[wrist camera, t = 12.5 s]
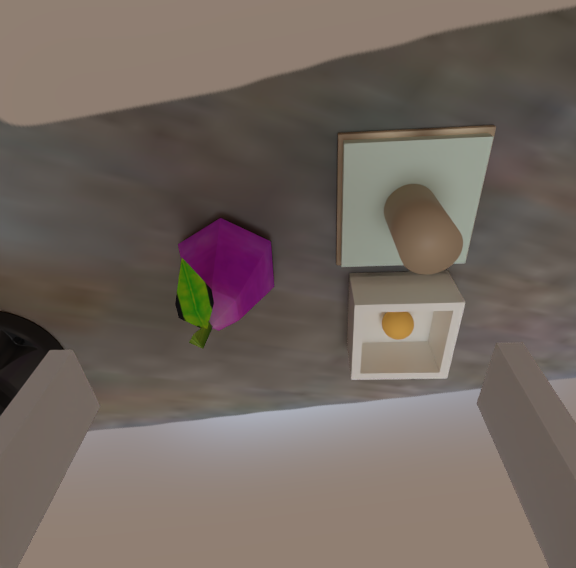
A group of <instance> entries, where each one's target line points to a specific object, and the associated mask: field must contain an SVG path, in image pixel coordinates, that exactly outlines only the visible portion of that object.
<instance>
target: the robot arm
mask: <svg viewBox="0 0 576 568" xmlns="http://www.w3.org/2000/svg"><path fill="white" fill-rule="evenodd" d="M477 405H478V407H479V410H480V412H481V414H482V416H483V419H484V421H485V423H486V425H487V428H488V430H489V432H490V435H491V437H492V439H493V441H494V443H495V446H496V448H497V450H498V453H499V455H500V457H501V459H502V462H503V464H504V466H505V468H506V471H507V473H508V475H509V478H510V480H511V482H512V484H513V487H514V489H515V491H516V494H517V496H518V498H519V500H520V503H521V505H522V507H523V509H524V512H525V514H526V516H527V519H528V520H529V523H530V525H531V528H532V530H533V532H534V534H535V537H536V539H537V541H538V543H539V546H540V548H541V550H542V552H543V555H544V557H545V559H546V561H547V564H548V566H549V568H576V423H575V421H574V420H573V418H572V416H571V415H570V414H569V412H568V411H567V409H566V407H565V406H564V404H563V403H562V401H561V400H560V398H559V397H558V395H557V394H556V392H555V391H554V389H553V388H552V386H551V385H550V383H549V382H548V380H547V379H546V377H545V376H544V374H543V373H542V371H541V370H540V368H539V366H538V365H537V363H536V362H535V360H534V359H533V357H532V356H531V354H530V353H529V351H528V350H527V348H526V347H525V345H524V344H523V343H496V346H495V349H494V352H493V355H492V358H491V361H490V364H489V367H488V370H487V373H486V376H485V379H484V382H483V386H482V389H481V392H480V395H479V398H478V401H477ZM99 408H100V405H99V403H98V400H97V398H96V396H95V394H94V392H93V390H92V388H91V386H90V384H89V382H88V380H87V378H86V376H85V374H84V372H83V369H82V367H81V365H80V363H79V361H78V359H77V357H76V355H75V353H74V351H73V350H63V349H62V347H61V346H60V345H59V343H58V342H57V341H56V340H55V339H54V338H53V337H52V336H51V335H50V334H48V333H47V332H46V331H45V330H43V329H42V328H40V327H39V326H37V325H35V324H33V323H32V322H30V321H28V320H25V319H23V318H21V317H18V316H15V315H12V314H8V313H4V312H0V568H17V567H18V565H19V563H20V561H21V559H22V558H23V556H24V554H25V552H26V550H27V548H28V546H29V544H30V542H31V540H32V538H33V536H34V534H35V532H36V530H37V528H38V526H39V524H40V523H41V521H42V519H43V517H44V515H45V513H46V511H47V509H48V507H49V505H50V503H51V501H52V499H53V497H54V495H55V493H56V491H57V489H58V488H59V486H60V484H61V482H62V480H63V478H64V476H65V474H66V472H67V470H68V468H69V466H70V464H71V462H72V460H73V458H74V457H75V454H76V452H77V451H78V449H79V447H80V445H81V443H82V441H83V439H84V437H85V435H86V433H87V431H88V429H89V427H90V425H91V423H92V422H93V420H94V418H95V416H96V414H97V412H98V410H99Z"/></svg>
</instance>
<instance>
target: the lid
mask: <svg viewBox="0 0 576 568" xmlns="http://www.w3.org/2000/svg"><path fill="white" fill-rule="evenodd" d="M493 137H494V136H492V135H491V134H489V133H480V134H459V135H439V136H418V137H398V138H377V139H357V140H343V173H342V221H341V267H358V266H392V265H404V266H405V267H406V268H407V269H409V270H410V271H412V272H414V273H417V274H423V275H428V274H435V273H438V272H441V271H443V270H445V269H447V268H448V267H450V266H451V265H452V264H459V263H465V261H466V257H467V252H468V248H469V243H470V239H471V235H472V230H473V226H474V221H475V217H476V212H477V208H478V204H479V199H480V195H481V190H482V186H483V181H484V177H485V173H486V168H487V164H488V159H489V155H490V150H491V146H492V141H493Z"/></svg>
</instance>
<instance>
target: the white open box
mask: <svg viewBox="0 0 576 568" xmlns="http://www.w3.org/2000/svg"><path fill="white" fill-rule="evenodd" d="M464 306H465V301H464V299H463V297H462V295H461V294H460V292H459V290H458V288H457V286H456V284H455V283H454V281H453V279H452V277H451V275H450V274H449V272H448V270H443V271H441V272H438V273H435V274H428V275H423V274H417V273H414V272H412V271H407V272H372V273H349V295H348V324H347V350H348V358H349V366H350V374H351V380H366V379H444V378H447V377H448V372H449V368H450V364H451V360H452V356H453V352H454V348H455V343H456V339H457V335H458V331H459V327H460V323H461V319H462V315H463V310H464ZM387 312H409V313H410V314H411V316H412V318H413V320H414V328H413V331H412V333H411V334H410V335H409V336H408V337H406V338H404V339H400V340H397V339H393V338H390V337H389V336H387V335H386V334H385V332H384V330H383V328H382V319H383V317H384V315H385V314H386V313H387Z"/></svg>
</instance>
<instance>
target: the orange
mask: <svg viewBox="0 0 576 568" xmlns="http://www.w3.org/2000/svg"><path fill="white" fill-rule="evenodd" d="M382 328H383V330H384V332H385V334H386V335H387V336H389V337H390V338H393V339H397V340H400V339H404V338H406V337H408V336H409V335H410V334H411V333H412V331H413V328H414V320H413V318H412V316H411V314H410V313H409V312H387V313H386V314H385V315H384V317H383V319H382Z"/></svg>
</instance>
